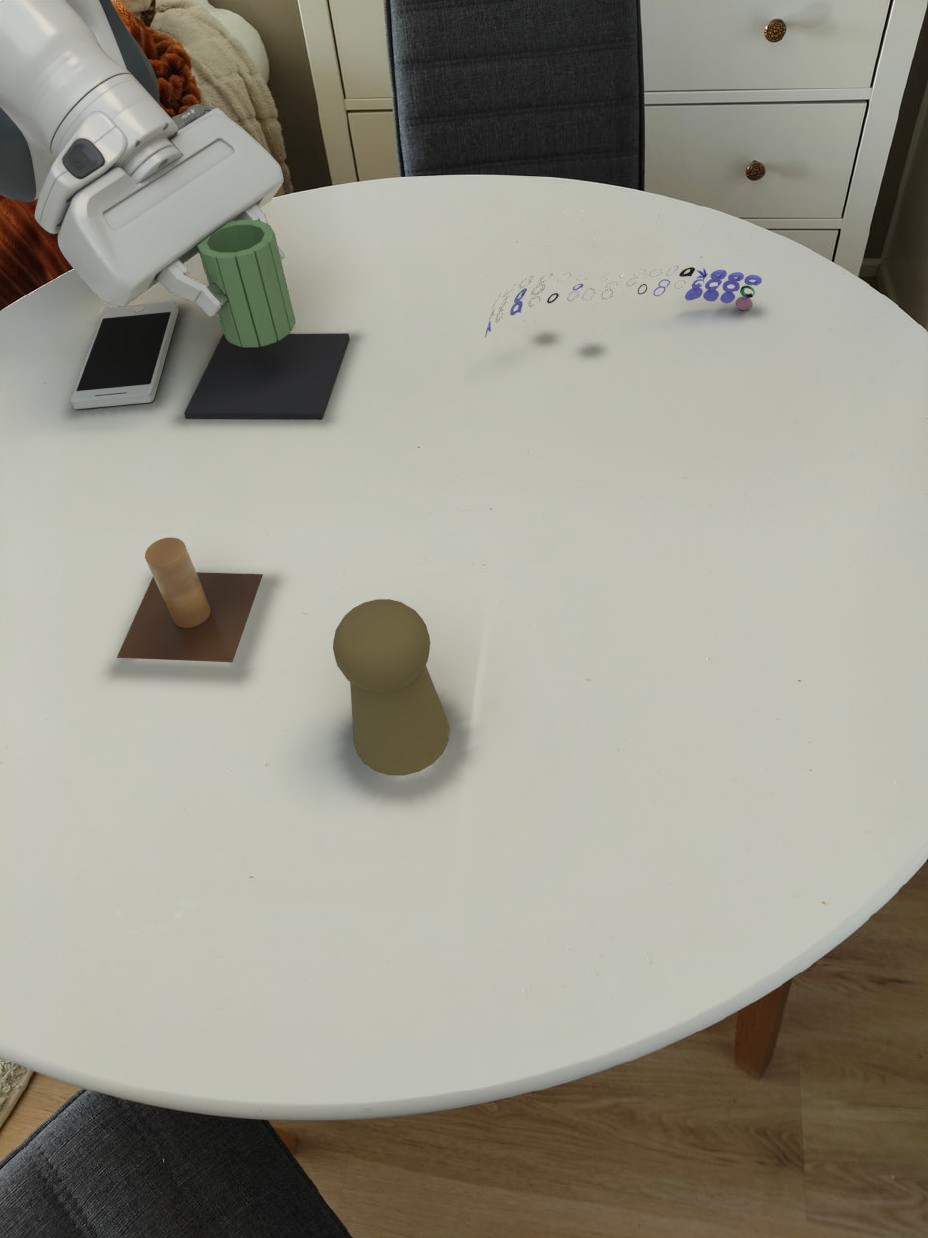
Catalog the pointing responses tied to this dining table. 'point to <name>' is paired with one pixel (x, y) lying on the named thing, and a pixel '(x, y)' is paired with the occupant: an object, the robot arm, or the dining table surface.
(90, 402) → the smartphone
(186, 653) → the peg stand
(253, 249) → the green tube
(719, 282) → the ring set
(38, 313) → the dining table surface
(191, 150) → the robot arm
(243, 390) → the mat
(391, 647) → the olive brown pawn
